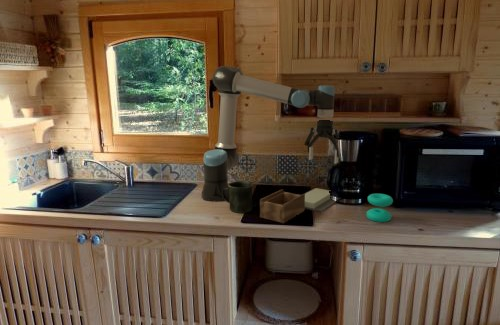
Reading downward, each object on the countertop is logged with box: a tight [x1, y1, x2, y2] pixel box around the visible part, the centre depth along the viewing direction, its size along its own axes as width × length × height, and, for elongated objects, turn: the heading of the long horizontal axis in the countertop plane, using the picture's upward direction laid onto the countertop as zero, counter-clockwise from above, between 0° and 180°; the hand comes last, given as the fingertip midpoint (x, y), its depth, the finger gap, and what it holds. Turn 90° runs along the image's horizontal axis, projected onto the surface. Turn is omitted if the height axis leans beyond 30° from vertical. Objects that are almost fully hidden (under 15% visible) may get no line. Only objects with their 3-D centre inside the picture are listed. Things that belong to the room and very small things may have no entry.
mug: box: [222, 180, 254, 214], centre depth 161 cm, size 11×15×12 cm
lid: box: [304, 187, 330, 208], centre depth 172 cm, size 10×22×2 cm, turn 143°
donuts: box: [366, 193, 394, 223], centre depth 150 cm, size 10×10×10 cm
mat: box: [304, 189, 337, 213], centre depth 173 cm, size 18×26×1 cm
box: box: [259, 189, 306, 224], centre depth 156 cm, size 12×18×8 cm, turn 144°
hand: (323, 161), depth 175 cm, fingers open, 13 cm apart
